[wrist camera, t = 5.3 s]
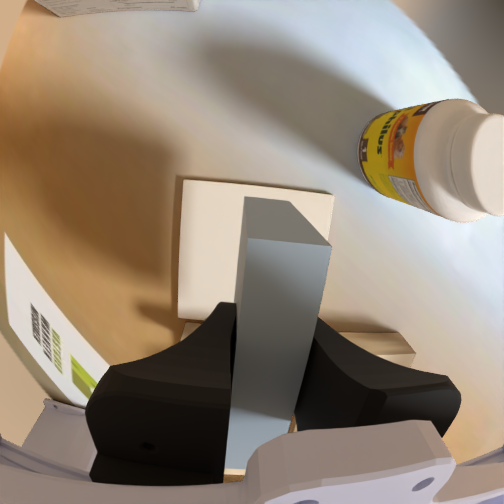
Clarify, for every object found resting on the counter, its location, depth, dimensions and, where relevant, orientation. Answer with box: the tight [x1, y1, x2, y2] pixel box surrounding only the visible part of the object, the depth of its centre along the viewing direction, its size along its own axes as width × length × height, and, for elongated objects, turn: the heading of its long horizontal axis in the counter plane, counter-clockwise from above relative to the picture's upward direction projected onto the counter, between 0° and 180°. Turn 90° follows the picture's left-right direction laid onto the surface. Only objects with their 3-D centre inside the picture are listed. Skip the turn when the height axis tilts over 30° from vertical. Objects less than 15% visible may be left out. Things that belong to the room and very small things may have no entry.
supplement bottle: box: [357, 99, 504, 223], centre depth 13 cm, size 6×6×10 cm
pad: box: [178, 179, 335, 320], centre depth 20 cm, size 9×9×1 cm
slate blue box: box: [225, 196, 332, 469], centre depth 12 cm, size 2×9×7 cm, turn 174°
